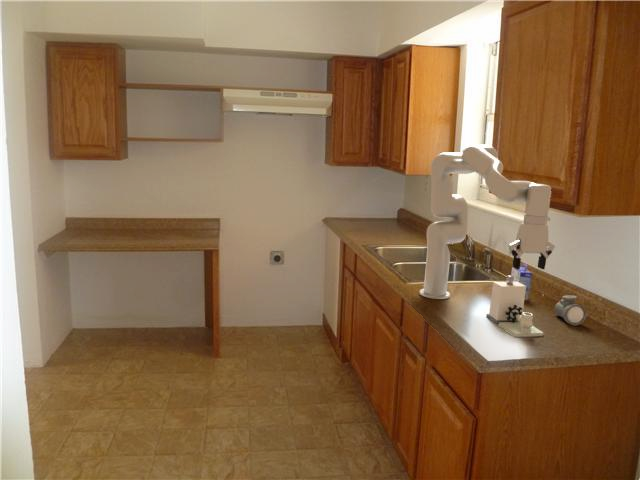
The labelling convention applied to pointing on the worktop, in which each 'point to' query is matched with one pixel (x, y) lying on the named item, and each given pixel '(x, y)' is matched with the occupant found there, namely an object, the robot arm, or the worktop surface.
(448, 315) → the worktop surface
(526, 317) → the valve
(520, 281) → the ink cartridge box
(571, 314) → the pipe fitting
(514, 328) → the pad
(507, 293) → the pump housing
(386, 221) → the worktop surface
